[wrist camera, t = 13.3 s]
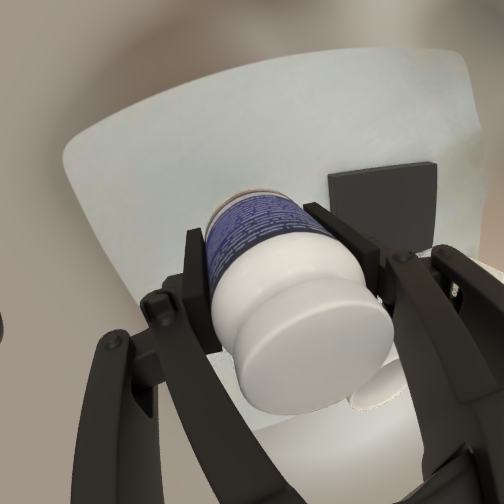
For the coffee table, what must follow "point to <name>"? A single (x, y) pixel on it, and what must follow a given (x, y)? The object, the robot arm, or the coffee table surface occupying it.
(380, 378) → the mug
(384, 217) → the scale
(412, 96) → the coffee table surface
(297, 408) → the pill bottle
